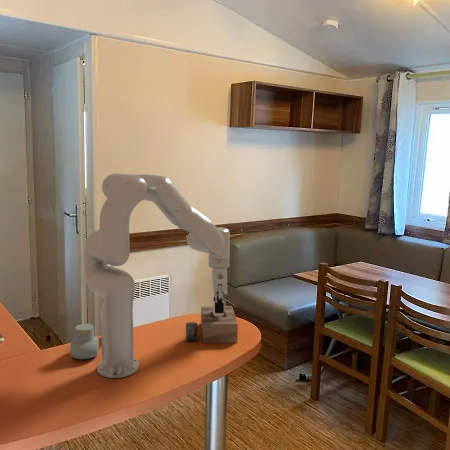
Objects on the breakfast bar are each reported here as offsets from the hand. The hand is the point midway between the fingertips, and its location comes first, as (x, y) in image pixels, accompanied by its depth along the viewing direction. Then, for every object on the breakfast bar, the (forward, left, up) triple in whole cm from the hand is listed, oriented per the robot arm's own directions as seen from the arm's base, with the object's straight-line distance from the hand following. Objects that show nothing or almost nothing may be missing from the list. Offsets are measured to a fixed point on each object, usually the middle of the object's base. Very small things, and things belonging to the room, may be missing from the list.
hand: (218, 309), depth 173 cm
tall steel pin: (0, 0, -9) cm, 9 cm away
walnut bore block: (0, 0, -9) cm, 9 cm away
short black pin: (-6, +10, -9) cm, 15 cm away
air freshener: (-16, +45, -9) cm, 49 cm away
